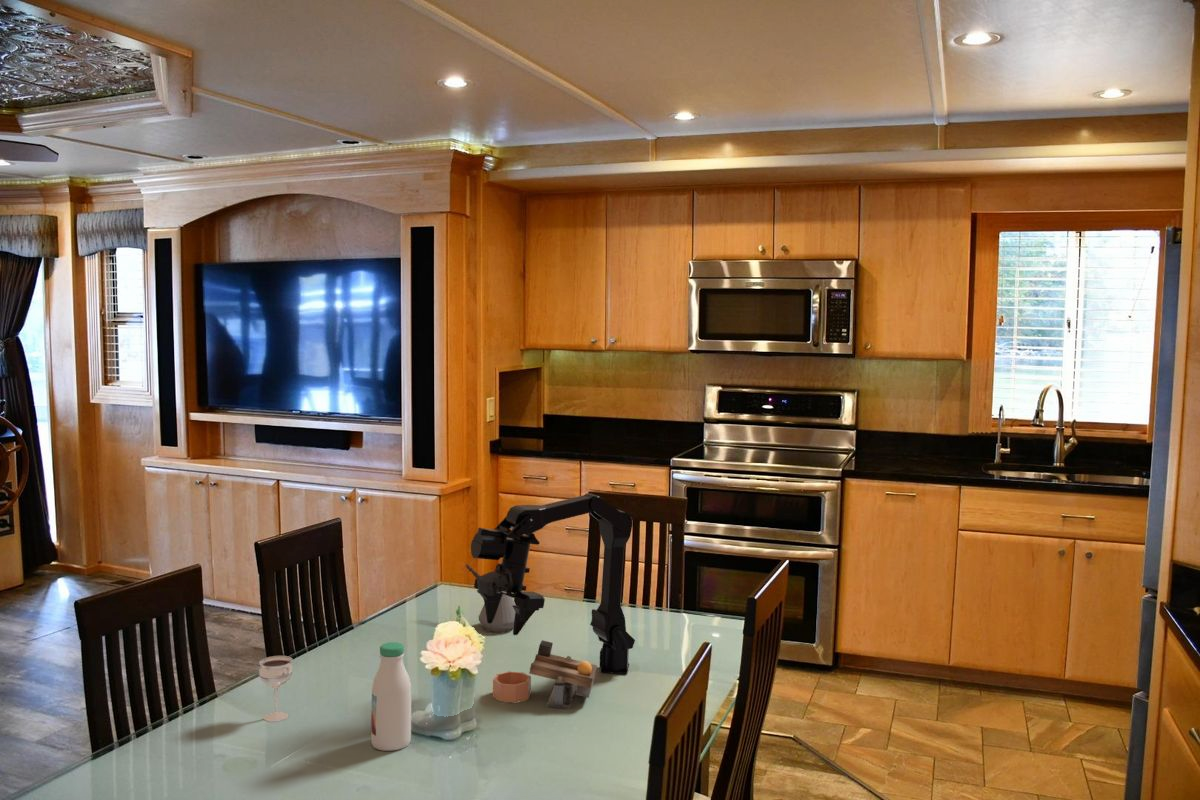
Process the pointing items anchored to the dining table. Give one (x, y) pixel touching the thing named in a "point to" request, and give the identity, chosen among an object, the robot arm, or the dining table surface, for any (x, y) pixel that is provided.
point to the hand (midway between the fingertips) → (502, 629)
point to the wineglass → (275, 679)
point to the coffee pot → (498, 612)
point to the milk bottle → (391, 701)
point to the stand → (562, 695)
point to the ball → (584, 668)
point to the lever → (561, 669)
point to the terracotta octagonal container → (512, 686)
